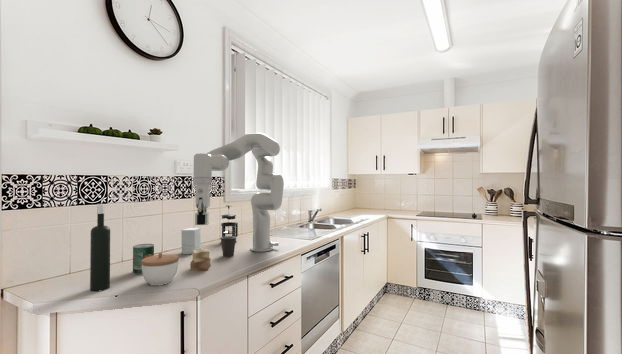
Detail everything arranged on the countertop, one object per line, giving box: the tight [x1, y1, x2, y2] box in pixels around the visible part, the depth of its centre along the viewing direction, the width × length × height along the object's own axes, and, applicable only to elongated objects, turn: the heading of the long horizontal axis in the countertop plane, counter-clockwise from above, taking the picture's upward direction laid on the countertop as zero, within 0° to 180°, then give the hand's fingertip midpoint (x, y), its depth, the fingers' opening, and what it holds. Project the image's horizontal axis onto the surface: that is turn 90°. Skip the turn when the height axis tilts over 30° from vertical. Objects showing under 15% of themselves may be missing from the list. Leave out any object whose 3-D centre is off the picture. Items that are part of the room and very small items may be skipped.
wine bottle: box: [89, 203, 111, 292], centre depth 108 cm, size 6×6×30 cm
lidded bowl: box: [141, 252, 180, 286], centre depth 114 cm, size 13×13×11 cm
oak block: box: [191, 248, 210, 262], centre depth 132 cm, size 6×6×4 cm
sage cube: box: [194, 211, 210, 226], centre depth 133 cm, size 5×5×5 cm
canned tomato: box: [132, 243, 155, 275], centre depth 128 cm, size 8×8×11 cm
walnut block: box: [189, 257, 212, 272], centre depth 132 cm, size 7×7×4 cm
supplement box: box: [180, 227, 202, 255], centre depth 162 cm, size 7×7×13 cm
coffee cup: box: [219, 235, 237, 258], centre depth 155 cm, size 8×8×10 cm
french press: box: [220, 204, 239, 245], centre depth 188 cm, size 12×9×23 cm
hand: (202, 223), depth 133 cm, fingers closed on sage cube, 5 cm apart
